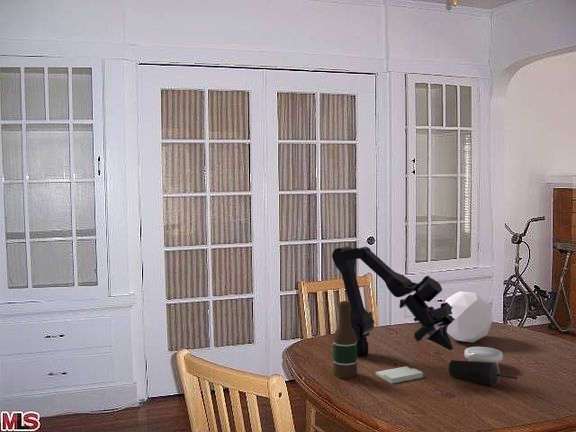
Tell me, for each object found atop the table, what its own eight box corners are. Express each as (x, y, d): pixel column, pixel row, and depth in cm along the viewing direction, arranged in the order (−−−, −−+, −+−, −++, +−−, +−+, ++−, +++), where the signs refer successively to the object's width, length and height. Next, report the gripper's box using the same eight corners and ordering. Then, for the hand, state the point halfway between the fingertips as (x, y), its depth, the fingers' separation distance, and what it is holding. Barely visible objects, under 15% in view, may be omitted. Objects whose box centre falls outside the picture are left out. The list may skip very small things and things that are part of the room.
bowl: (473, 373, 181) (473, 358, 181) (459, 361, 193) (459, 346, 193) (509, 372, 182) (509, 356, 182) (492, 360, 194) (493, 345, 194)
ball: (463, 353, 224) (472, 307, 233) (499, 348, 207) (507, 299, 215) (424, 333, 220) (435, 288, 228) (458, 326, 202) (469, 277, 211)
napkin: (391, 383, 174) (391, 378, 174) (375, 374, 182) (375, 369, 182) (423, 377, 179) (423, 372, 179) (406, 368, 187) (406, 364, 187)
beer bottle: (331, 371, 186) (330, 299, 184) (354, 370, 187) (354, 298, 185) (335, 379, 178) (334, 305, 177) (359, 378, 179) (359, 304, 177)
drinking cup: (451, 384, 179) (516, 396, 167) (445, 371, 175) (511, 381, 163) (457, 364, 184) (521, 374, 172) (451, 350, 180) (516, 359, 168)
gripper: (422, 300, 175) (456, 341, 168) (449, 290, 189) (480, 328, 183) (400, 321, 181) (432, 362, 174) (427, 310, 195) (457, 347, 188)
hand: (451, 349), depth 180 cm, fingers closed
